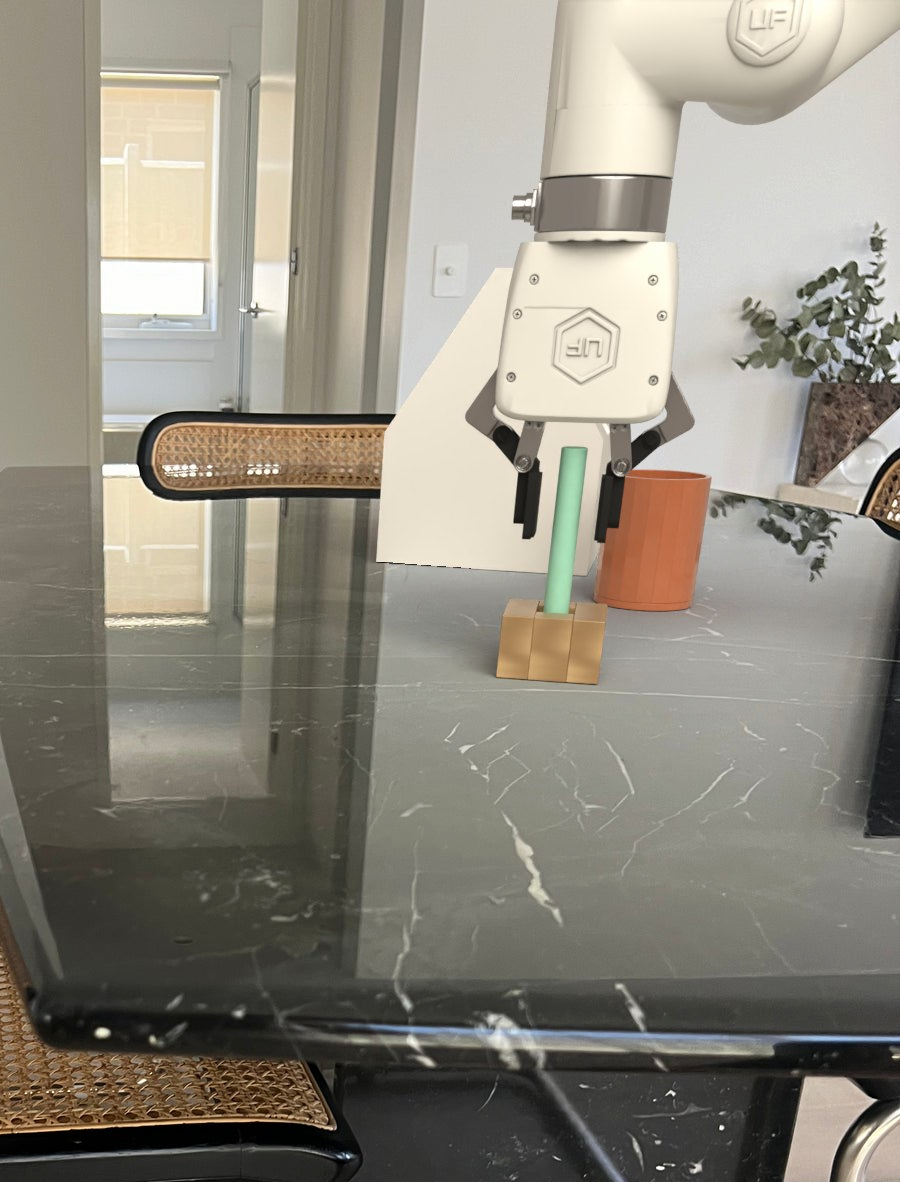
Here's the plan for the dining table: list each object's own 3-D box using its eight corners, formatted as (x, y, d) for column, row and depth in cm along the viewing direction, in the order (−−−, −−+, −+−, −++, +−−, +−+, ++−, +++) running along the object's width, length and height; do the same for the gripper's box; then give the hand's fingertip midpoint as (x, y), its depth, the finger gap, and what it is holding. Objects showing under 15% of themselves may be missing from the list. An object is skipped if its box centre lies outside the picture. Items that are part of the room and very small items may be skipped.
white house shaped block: (376, 562, 137) (395, 267, 127) (406, 540, 150) (426, 271, 140) (586, 575, 131) (624, 268, 121) (599, 551, 145) (634, 272, 135)
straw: (561, 668, 97) (588, 446, 92) (560, 674, 96) (587, 448, 90) (537, 666, 98) (562, 445, 92) (535, 672, 96) (561, 447, 91)
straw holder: (599, 663, 99) (607, 603, 97) (597, 684, 93) (605, 621, 92) (503, 657, 100) (509, 598, 99) (495, 677, 95) (502, 615, 93)
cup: (690, 596, 122) (709, 471, 118) (693, 613, 116) (713, 481, 111) (594, 591, 124) (609, 467, 120) (591, 607, 117) (608, 477, 113)
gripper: (451, 213, 85) (425, 540, 92) (756, 212, 80) (703, 554, 88) (464, 220, 91) (440, 524, 99) (747, 219, 87) (698, 537, 95)
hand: (564, 535), depth 93 cm, fingers open, 3 cm apart
